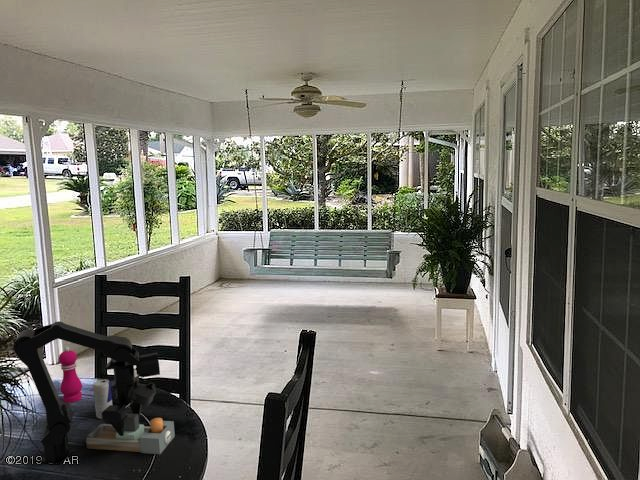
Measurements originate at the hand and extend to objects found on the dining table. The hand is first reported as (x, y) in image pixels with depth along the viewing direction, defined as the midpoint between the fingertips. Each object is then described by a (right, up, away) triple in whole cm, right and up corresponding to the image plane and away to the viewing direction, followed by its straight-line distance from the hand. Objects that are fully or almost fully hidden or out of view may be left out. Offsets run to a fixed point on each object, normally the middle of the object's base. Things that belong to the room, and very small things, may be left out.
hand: (129, 427), depth 161 cm
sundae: (-9, -1, +27) cm, 29 cm away
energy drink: (-15, -3, +18) cm, 24 cm away
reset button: (+9, -1, -1) cm, 9 cm away
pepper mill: (-32, -1, +31) cm, 45 cm away
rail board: (-3, -5, +1) cm, 6 cm away
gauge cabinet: (+9, -5, -1) cm, 10 cm away
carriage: (0, -3, +1) cm, 3 cm away
